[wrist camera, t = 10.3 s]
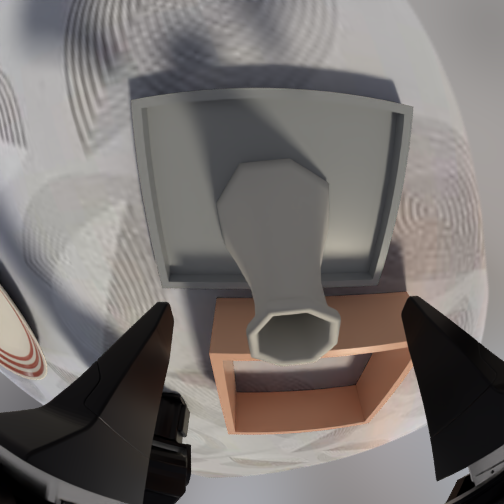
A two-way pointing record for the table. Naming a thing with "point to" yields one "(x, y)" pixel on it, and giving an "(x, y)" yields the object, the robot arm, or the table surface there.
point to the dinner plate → (19, 342)
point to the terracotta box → (349, 343)
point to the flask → (281, 258)
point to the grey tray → (261, 149)
